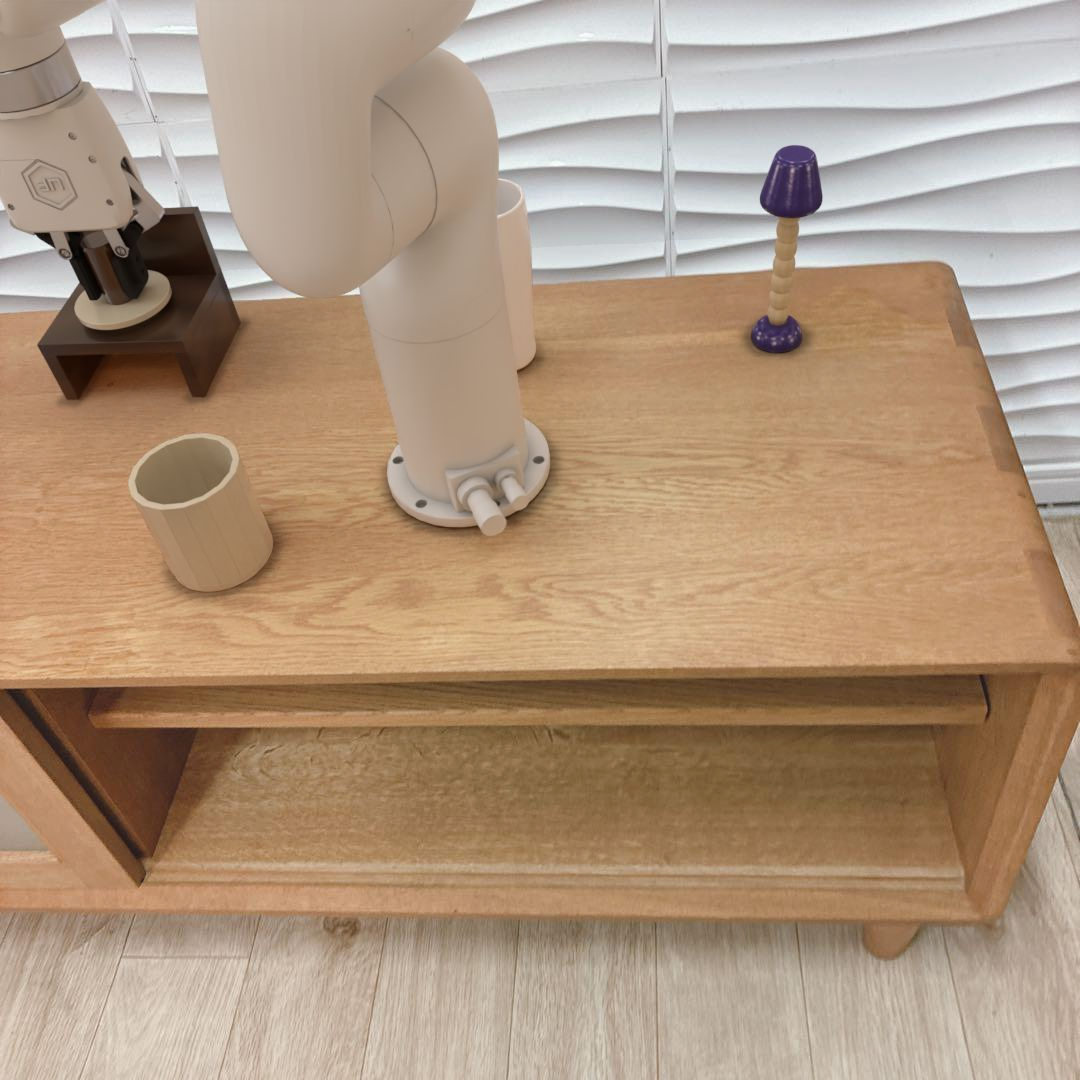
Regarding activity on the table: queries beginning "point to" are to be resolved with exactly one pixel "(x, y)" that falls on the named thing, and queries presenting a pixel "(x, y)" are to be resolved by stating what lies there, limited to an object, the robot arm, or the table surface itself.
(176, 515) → the pot
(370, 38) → the robot arm
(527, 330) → the drinking glass
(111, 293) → the lid
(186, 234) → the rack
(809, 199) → the toy lamp
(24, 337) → the table surface
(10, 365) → the table surface
